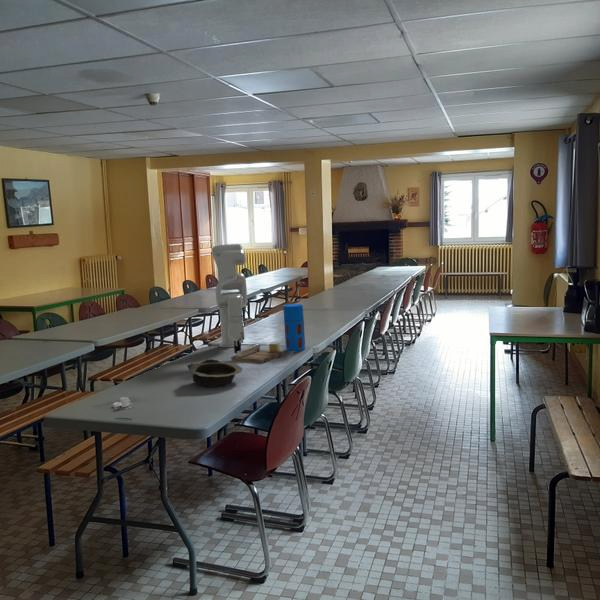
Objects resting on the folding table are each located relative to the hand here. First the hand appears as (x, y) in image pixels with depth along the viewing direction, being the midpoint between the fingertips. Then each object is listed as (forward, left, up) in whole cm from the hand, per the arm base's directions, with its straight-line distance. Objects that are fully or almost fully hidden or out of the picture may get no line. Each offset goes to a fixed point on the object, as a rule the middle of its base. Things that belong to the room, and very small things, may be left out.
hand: (237, 352), depth 314 cm
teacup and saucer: (+83, +4, -4) cm, 84 cm away
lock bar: (-4, +5, -1) cm, 6 cm away
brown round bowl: (+43, +20, -3) cm, 48 cm away
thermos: (-29, +19, -3) cm, 34 cm away
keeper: (-13, +15, -1) cm, 20 cm away
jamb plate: (-5, +10, -3) cm, 11 cm away
